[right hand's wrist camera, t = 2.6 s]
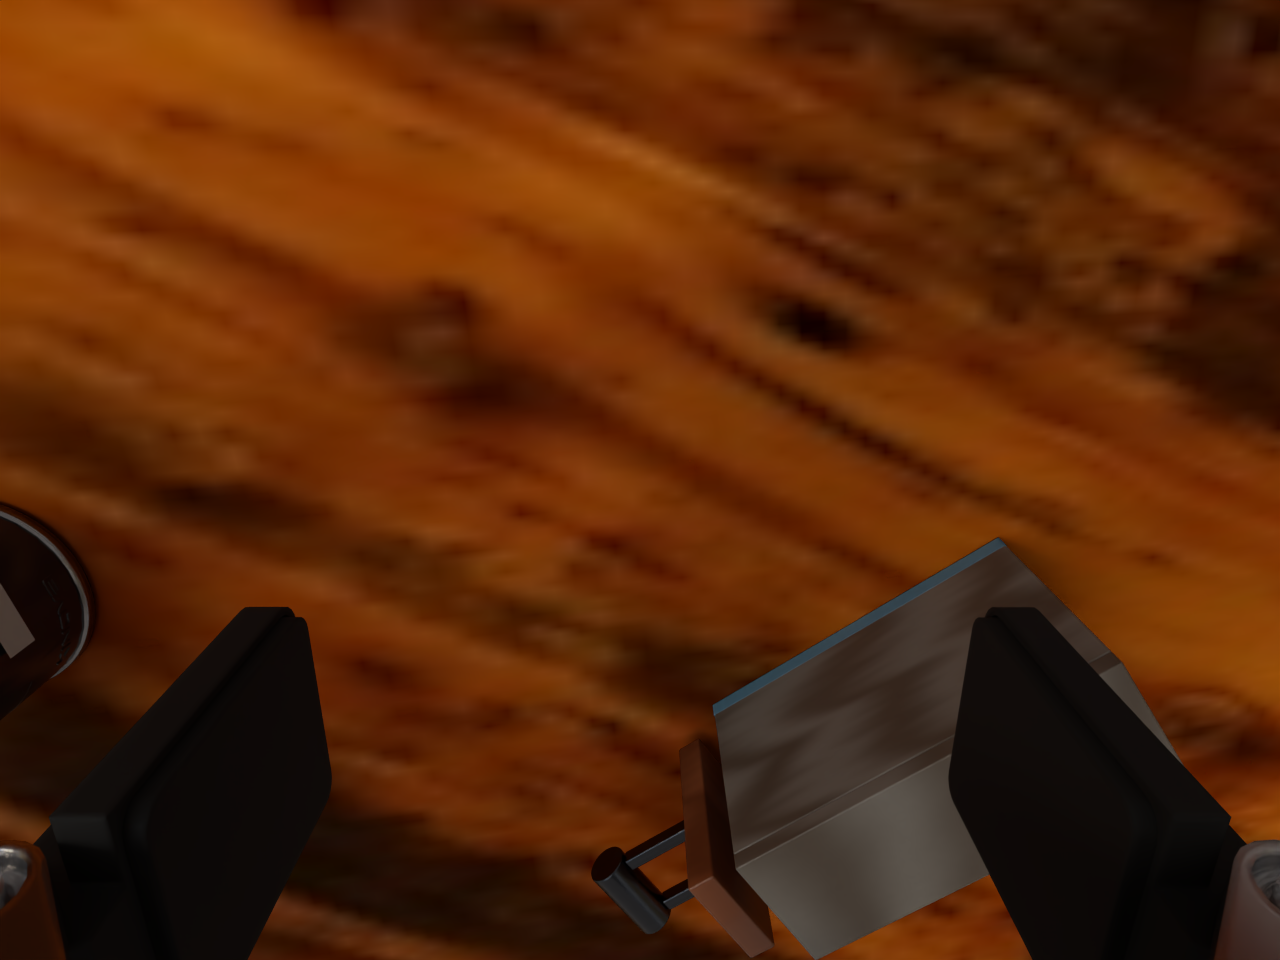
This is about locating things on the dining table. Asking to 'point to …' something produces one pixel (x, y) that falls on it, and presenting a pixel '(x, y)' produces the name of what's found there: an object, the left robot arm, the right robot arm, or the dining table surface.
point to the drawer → (691, 863)
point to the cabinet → (874, 754)
